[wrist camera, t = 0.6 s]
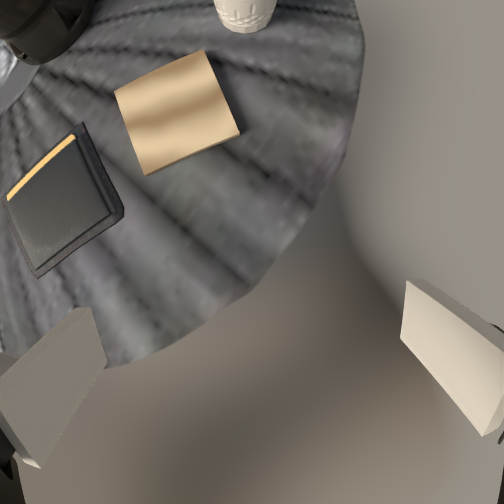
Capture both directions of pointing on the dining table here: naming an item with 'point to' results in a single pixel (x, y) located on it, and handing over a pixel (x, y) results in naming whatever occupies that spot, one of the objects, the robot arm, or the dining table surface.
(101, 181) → the black book
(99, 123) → the dining table surface
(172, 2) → the dining table surface
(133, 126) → the oak coaster board
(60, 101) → the dining table surface
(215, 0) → the white cup
